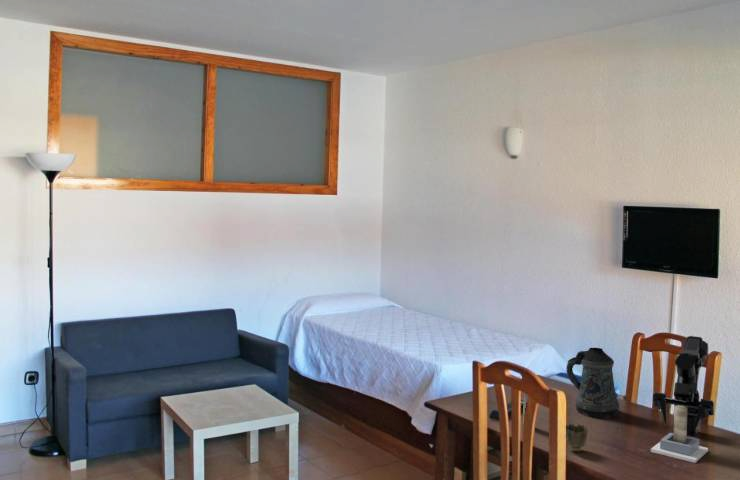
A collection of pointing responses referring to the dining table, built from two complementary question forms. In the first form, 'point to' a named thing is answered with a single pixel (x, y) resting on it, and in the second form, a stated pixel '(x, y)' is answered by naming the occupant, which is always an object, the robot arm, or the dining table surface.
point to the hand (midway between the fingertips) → (679, 425)
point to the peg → (680, 424)
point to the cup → (576, 436)
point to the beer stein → (594, 384)
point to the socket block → (680, 448)
